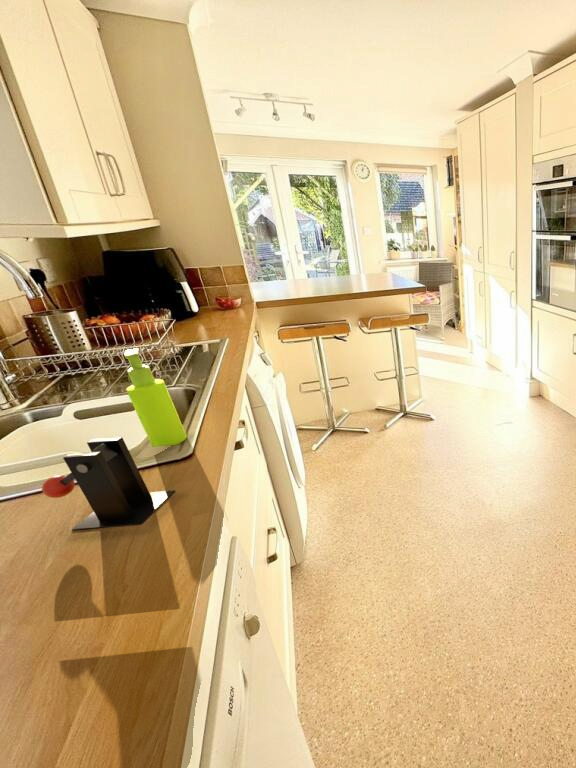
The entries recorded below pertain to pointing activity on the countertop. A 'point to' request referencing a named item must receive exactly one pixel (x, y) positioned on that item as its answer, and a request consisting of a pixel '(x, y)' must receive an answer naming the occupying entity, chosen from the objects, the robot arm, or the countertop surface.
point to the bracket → (113, 487)
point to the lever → (70, 477)
